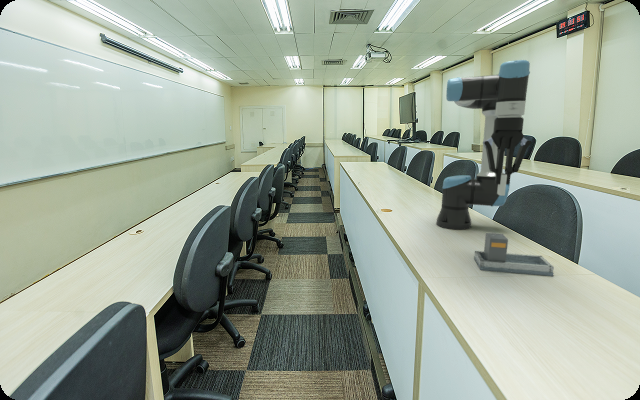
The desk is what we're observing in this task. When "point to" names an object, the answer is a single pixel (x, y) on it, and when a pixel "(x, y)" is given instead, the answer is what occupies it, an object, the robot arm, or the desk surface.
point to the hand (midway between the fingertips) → (500, 194)
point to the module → (495, 247)
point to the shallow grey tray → (516, 264)
